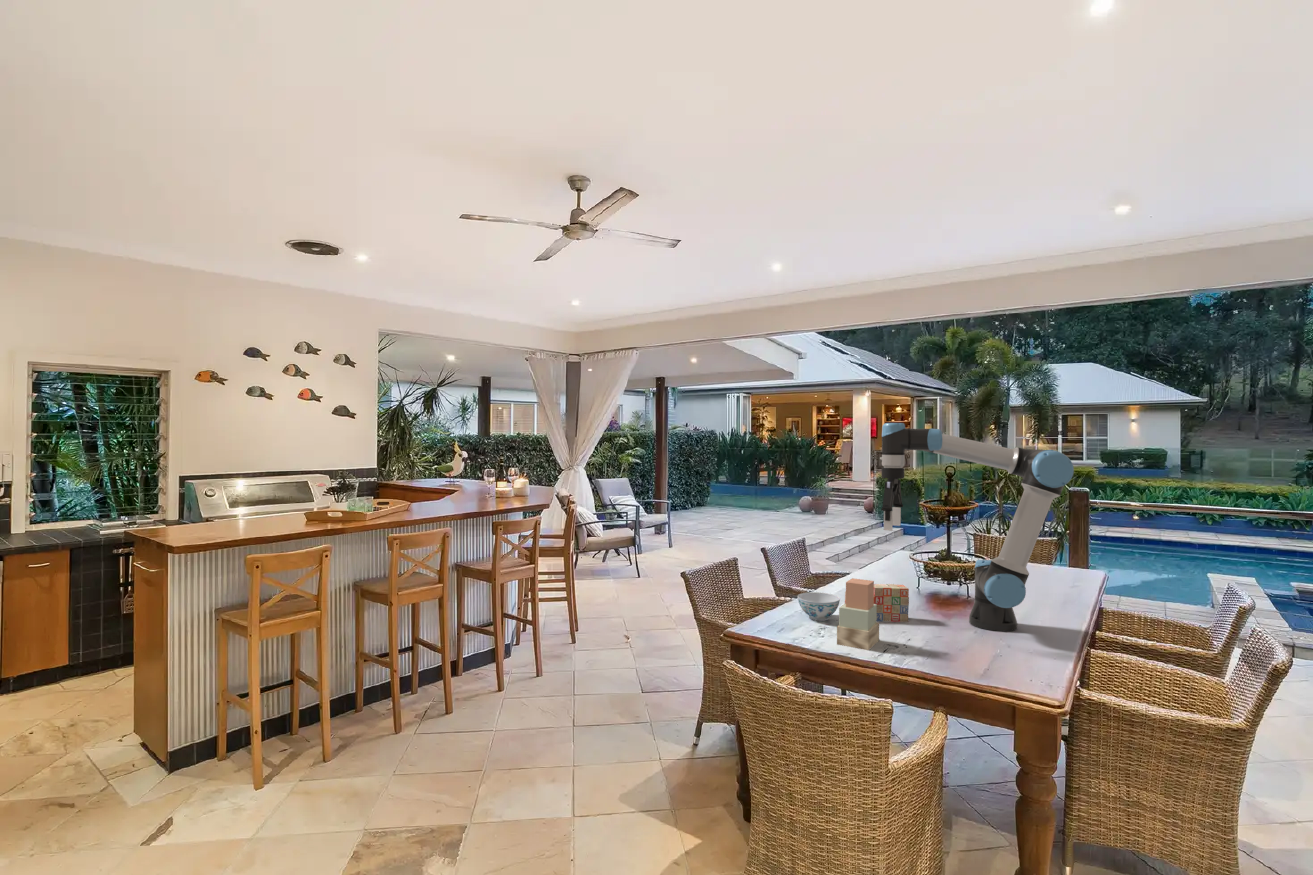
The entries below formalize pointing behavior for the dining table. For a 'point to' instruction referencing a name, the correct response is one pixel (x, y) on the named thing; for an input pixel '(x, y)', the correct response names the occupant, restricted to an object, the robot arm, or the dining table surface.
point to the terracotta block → (859, 594)
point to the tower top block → (857, 617)
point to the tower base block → (858, 637)
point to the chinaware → (818, 604)
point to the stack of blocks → (891, 602)
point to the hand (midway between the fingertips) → (892, 527)
